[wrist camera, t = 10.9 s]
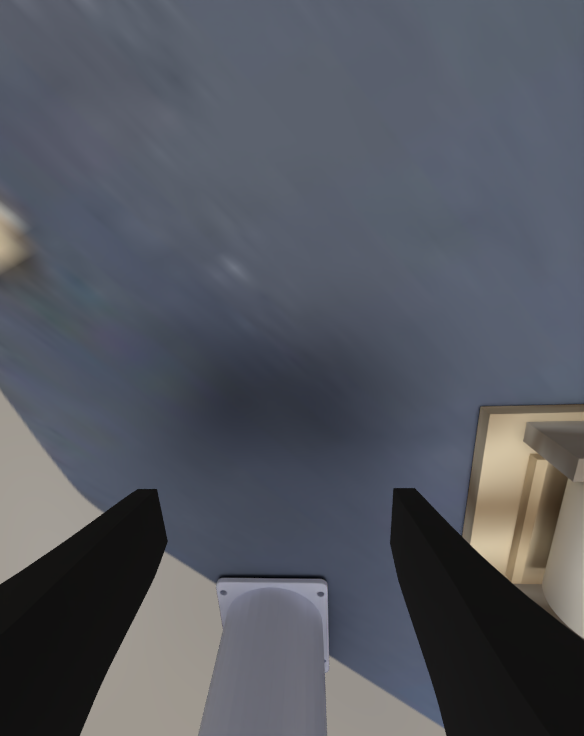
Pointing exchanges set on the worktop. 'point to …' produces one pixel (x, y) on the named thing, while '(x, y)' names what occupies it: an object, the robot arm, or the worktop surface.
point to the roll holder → (522, 487)
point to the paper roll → (567, 561)
